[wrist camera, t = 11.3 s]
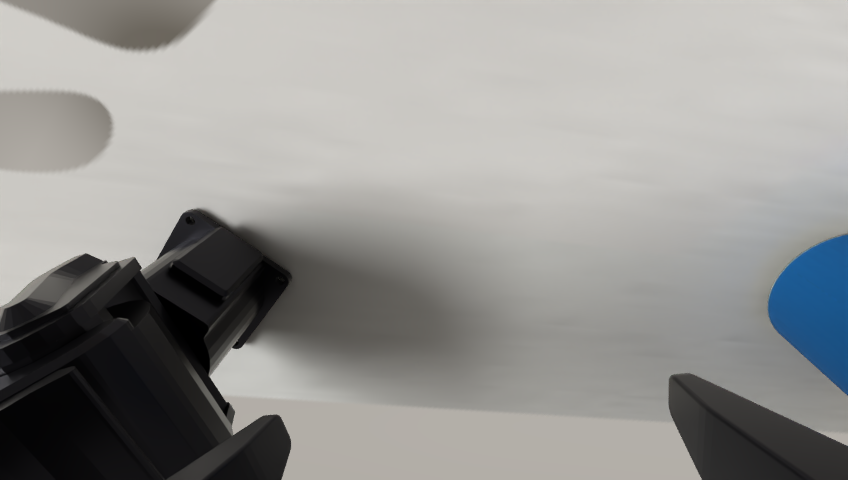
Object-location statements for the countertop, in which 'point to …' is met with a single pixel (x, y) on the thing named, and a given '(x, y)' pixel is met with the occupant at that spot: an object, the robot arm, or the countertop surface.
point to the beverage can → (816, 307)
